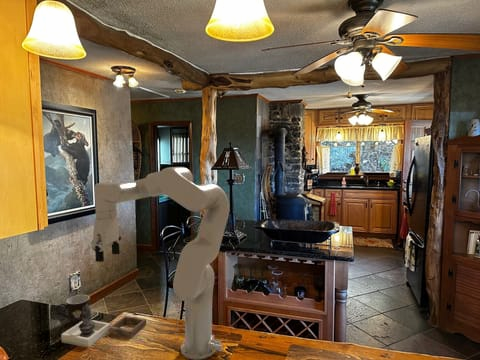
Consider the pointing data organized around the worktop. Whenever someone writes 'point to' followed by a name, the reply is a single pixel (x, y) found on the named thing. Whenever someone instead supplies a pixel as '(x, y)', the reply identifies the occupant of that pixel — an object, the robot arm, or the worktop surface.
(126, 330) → the tray
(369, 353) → the worktop surface
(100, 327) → the tray
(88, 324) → the salt shaker
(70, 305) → the coffee mug
